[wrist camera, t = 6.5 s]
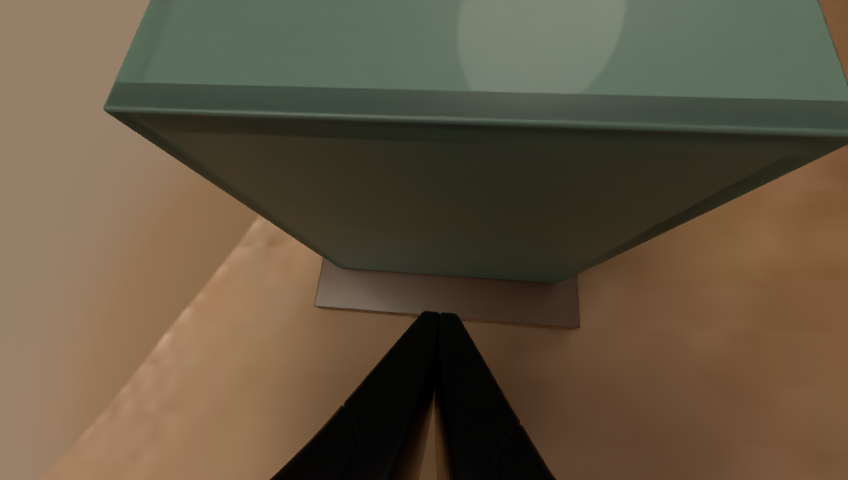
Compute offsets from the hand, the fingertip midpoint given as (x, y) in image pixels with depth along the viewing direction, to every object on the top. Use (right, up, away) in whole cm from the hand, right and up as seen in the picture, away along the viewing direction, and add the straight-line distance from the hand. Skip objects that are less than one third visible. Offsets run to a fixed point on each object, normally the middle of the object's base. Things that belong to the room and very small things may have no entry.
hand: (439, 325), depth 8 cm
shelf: (+1, +3, +9) cm, 9 cm away
